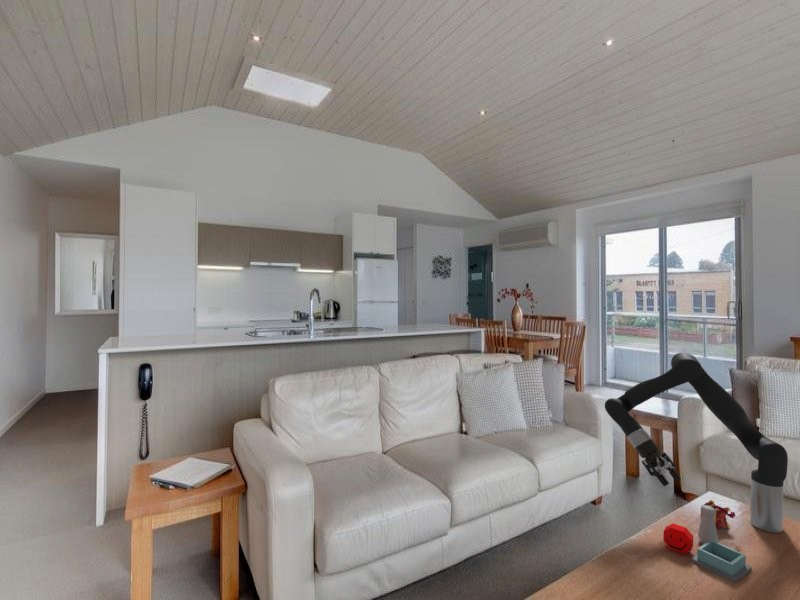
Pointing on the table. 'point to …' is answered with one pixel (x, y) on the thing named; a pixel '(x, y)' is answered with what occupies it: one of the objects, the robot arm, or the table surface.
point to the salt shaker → (707, 525)
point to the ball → (678, 538)
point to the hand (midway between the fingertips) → (672, 482)
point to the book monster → (720, 515)
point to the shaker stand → (722, 560)
